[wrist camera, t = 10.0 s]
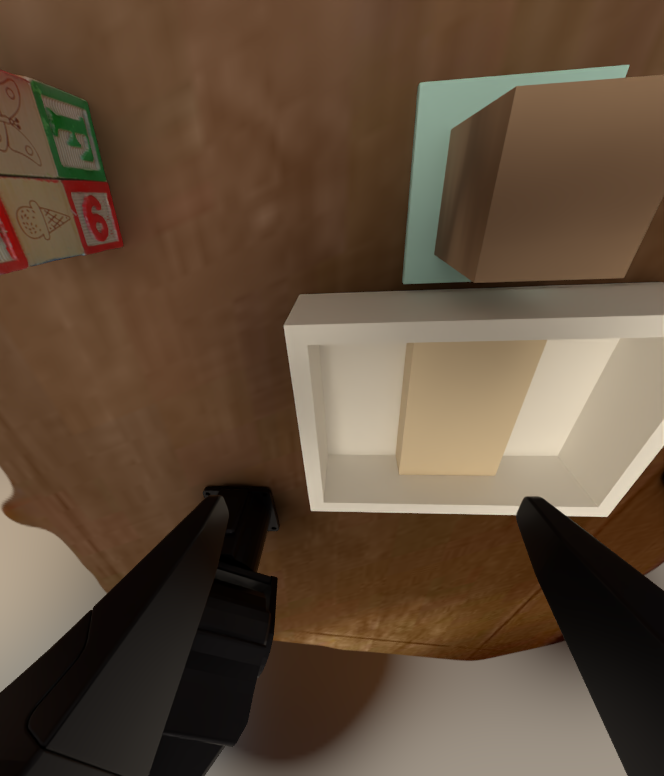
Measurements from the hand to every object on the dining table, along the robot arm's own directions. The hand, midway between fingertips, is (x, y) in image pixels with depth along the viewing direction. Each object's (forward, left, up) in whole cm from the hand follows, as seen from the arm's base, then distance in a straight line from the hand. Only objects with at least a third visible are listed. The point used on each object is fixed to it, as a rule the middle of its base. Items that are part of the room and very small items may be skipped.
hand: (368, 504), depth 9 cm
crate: (-4, -6, -12) cm, 14 cm away
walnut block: (+7, -6, -12) cm, 15 cm away
